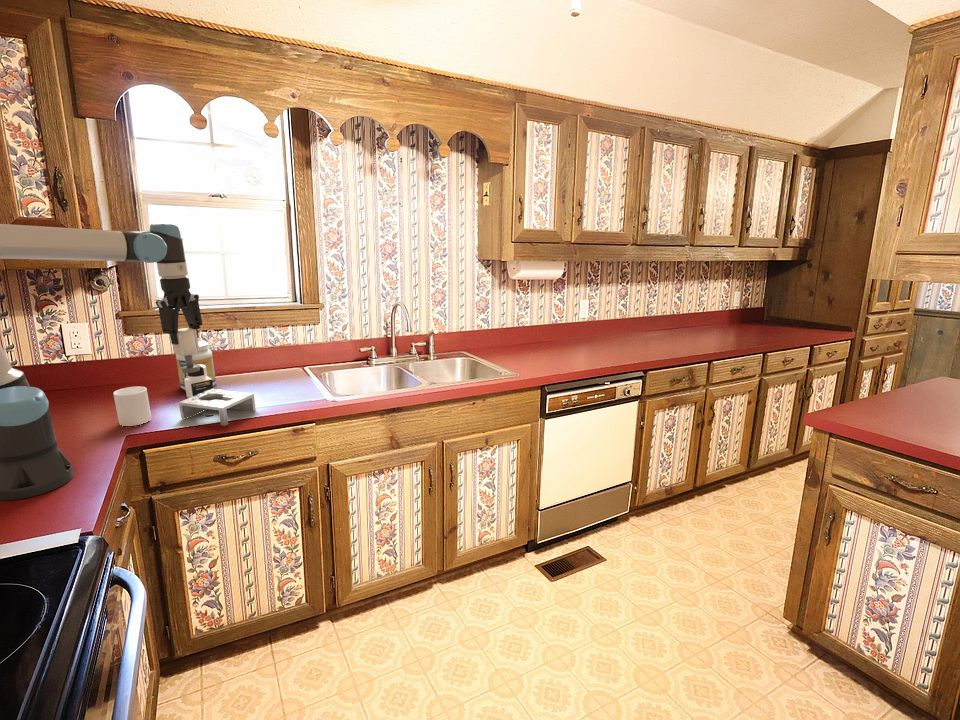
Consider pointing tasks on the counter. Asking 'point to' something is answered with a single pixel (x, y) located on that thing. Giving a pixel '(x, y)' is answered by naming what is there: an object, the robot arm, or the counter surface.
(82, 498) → the counter surface
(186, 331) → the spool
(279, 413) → the counter surface
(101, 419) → the counter surface
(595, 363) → the counter surface
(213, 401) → the white table-shaped stand
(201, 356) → the supplement tub
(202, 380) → the medicine bottle
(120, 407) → the mug
